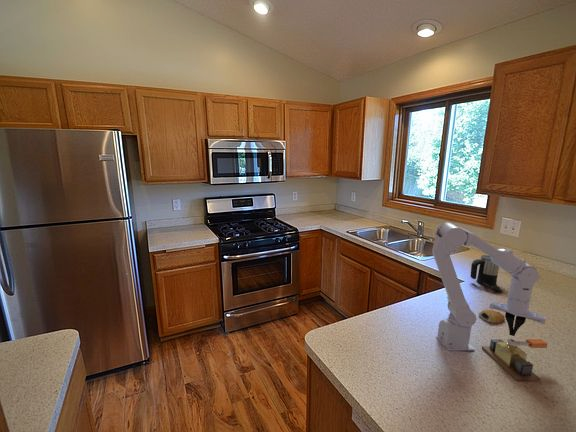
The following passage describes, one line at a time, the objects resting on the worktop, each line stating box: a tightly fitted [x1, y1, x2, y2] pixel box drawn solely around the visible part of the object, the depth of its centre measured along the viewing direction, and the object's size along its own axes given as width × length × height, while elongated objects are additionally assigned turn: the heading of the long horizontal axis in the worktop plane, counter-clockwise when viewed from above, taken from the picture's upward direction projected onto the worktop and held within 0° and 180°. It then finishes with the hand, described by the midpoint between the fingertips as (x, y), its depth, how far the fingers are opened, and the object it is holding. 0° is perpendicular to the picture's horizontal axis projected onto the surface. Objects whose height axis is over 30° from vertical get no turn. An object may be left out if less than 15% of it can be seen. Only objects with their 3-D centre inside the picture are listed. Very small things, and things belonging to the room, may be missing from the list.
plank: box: [481, 345, 541, 382], centre depth 91 cm, size 7×15×1 cm, turn 2°
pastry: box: [478, 309, 506, 324], centre depth 117 cm, size 9×7×4 cm
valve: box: [489, 338, 534, 375], centre depth 90 cm, size 5×13×5 cm, turn 2°
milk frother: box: [470, 254, 502, 293], centre depth 148 cm, size 14×16×15 cm
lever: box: [506, 338, 549, 349], centre depth 90 cm, size 12×3×2 cm, turn 92°
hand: (512, 334), depth 95 cm, fingers closed
